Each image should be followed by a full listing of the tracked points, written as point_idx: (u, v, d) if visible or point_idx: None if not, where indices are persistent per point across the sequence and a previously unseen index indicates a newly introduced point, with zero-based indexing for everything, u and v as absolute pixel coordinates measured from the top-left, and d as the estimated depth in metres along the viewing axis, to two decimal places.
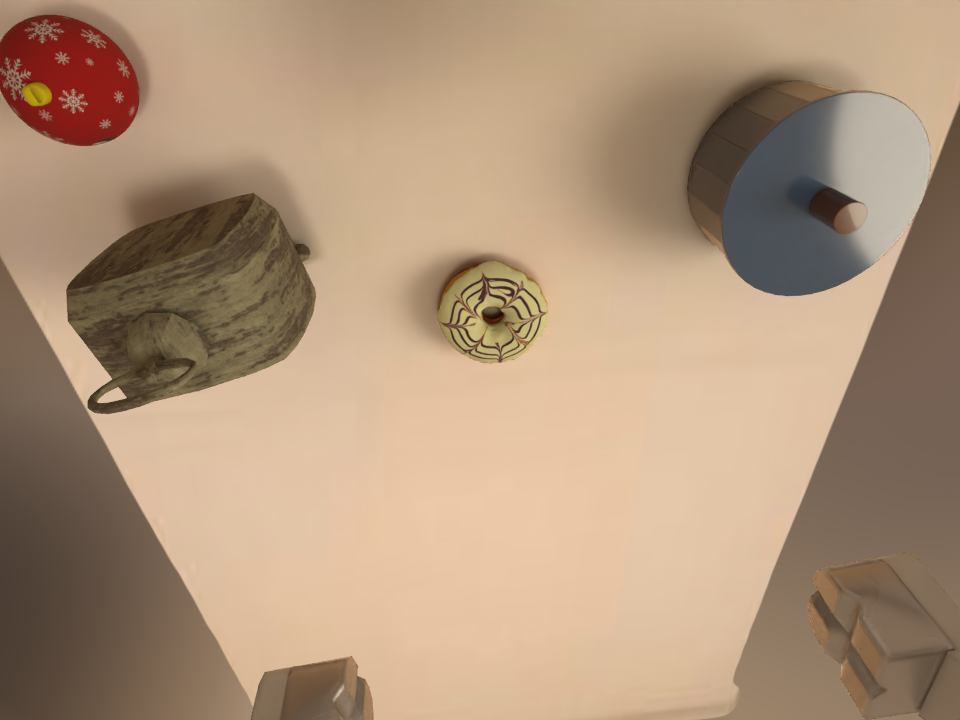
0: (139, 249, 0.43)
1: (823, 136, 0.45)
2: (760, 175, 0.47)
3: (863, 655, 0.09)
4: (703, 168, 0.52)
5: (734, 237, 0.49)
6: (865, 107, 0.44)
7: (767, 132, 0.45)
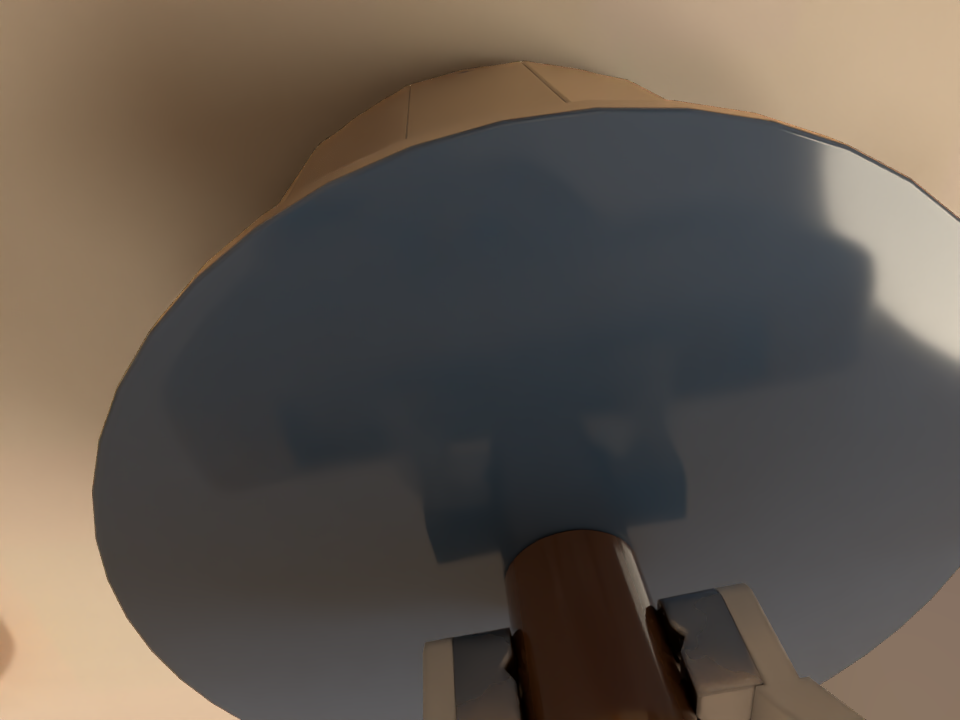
0: None
1: (471, 347, 0.08)
2: (213, 504, 0.10)
3: (686, 687, 0.09)
4: None
5: (232, 679, 0.12)
6: (677, 200, 0.08)
7: None
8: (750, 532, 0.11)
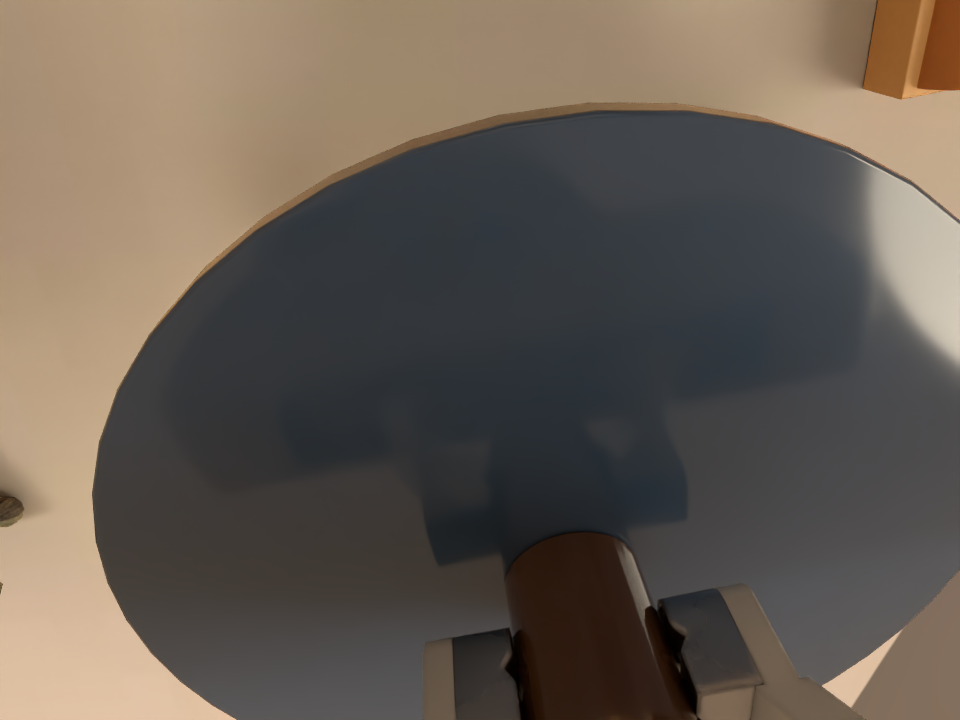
0: None
1: (472, 350, 0.08)
2: (214, 507, 0.10)
3: (686, 687, 0.09)
4: None
5: (232, 681, 0.12)
6: (678, 203, 0.08)
7: (151, 334, 0.08)
8: (751, 534, 0.11)
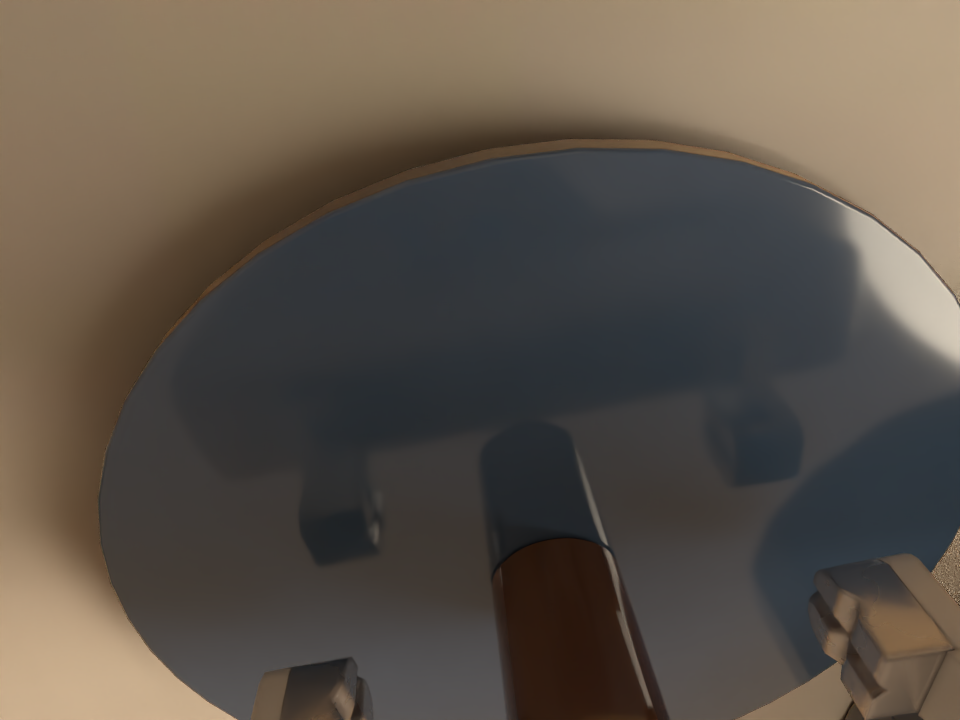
0: None
1: (461, 366, 0.09)
2: (214, 510, 0.10)
3: (863, 655, 0.09)
4: None
5: (228, 678, 0.13)
6: (654, 232, 0.08)
7: (157, 347, 0.09)
8: (726, 541, 0.12)
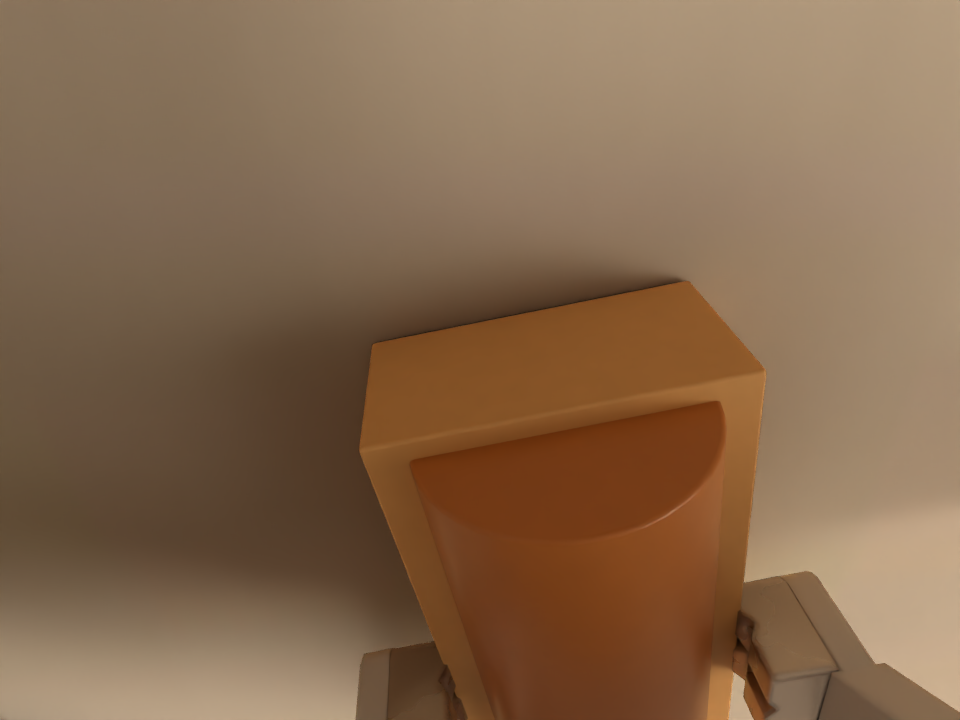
0: None
1: None
2: None
3: (756, 674, 0.09)
4: None
5: None
6: None
7: None
8: None
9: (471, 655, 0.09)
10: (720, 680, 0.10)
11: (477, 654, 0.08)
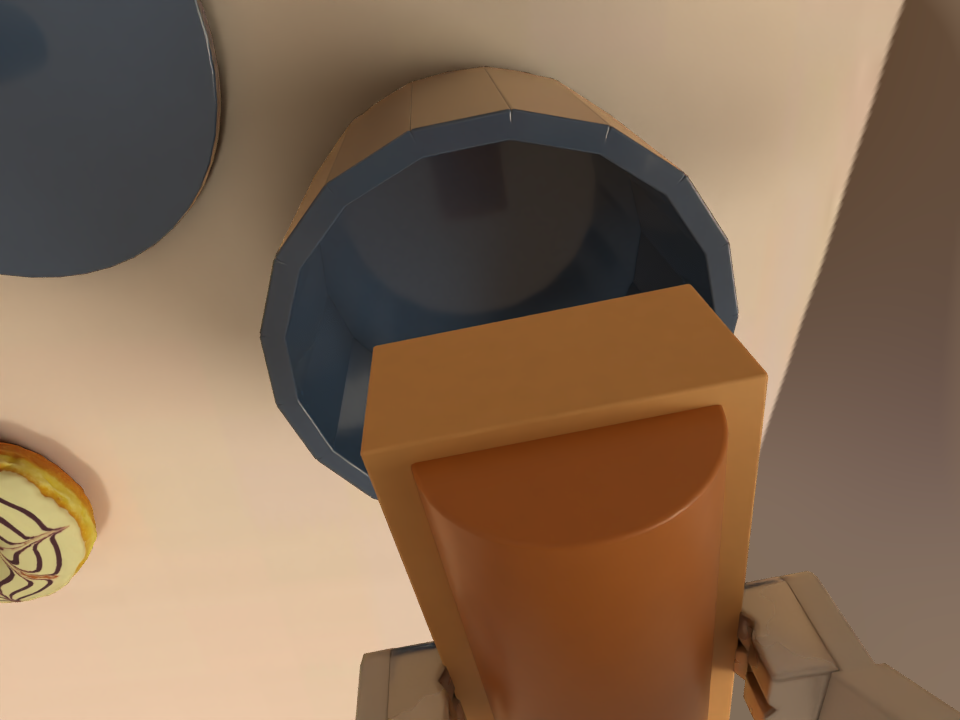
0: None
1: None
2: None
3: (756, 675, 0.09)
4: None
5: None
6: None
7: None
8: (48, 22, 0.20)
9: (472, 658, 0.09)
10: (721, 683, 0.10)
11: (478, 657, 0.08)
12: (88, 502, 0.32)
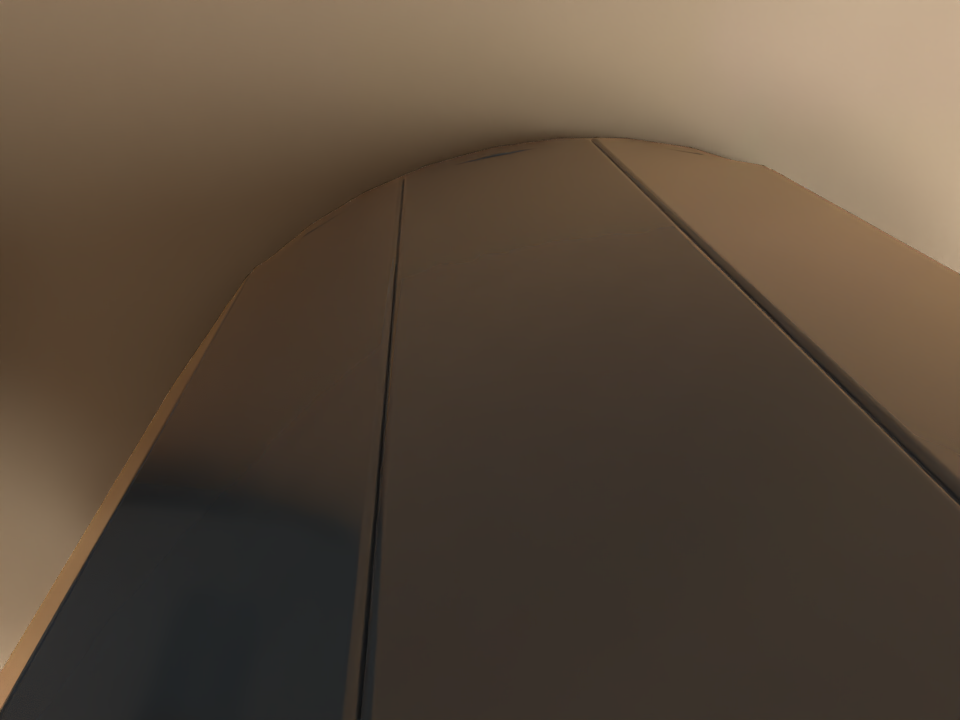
0: None
1: None
2: None
3: None
4: None
5: None
6: None
7: None
8: None
9: None
10: None
11: None
12: None
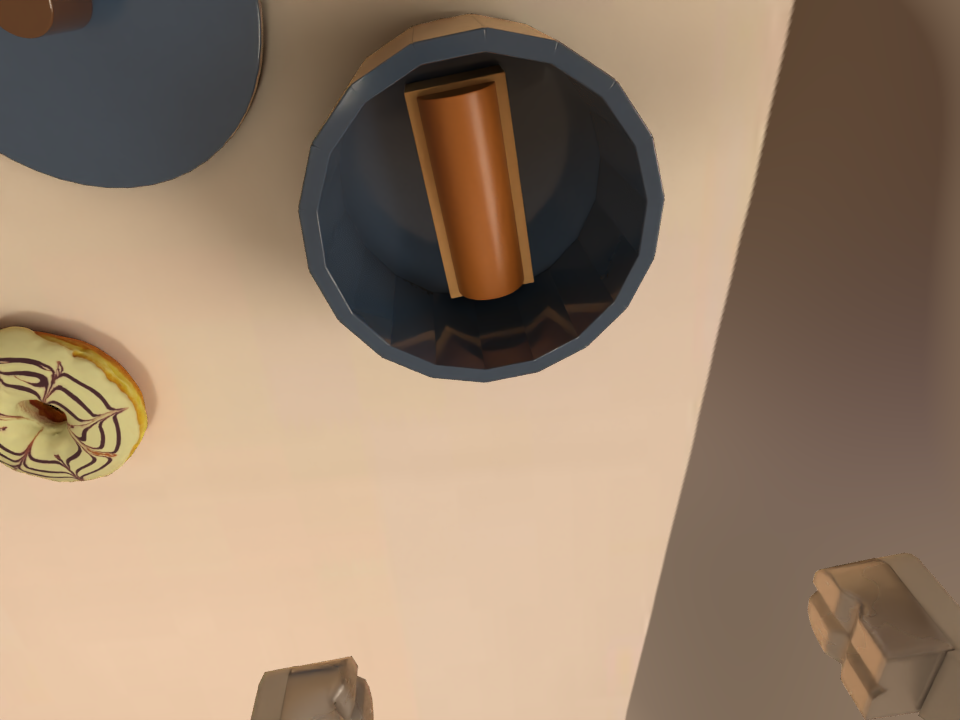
0: None
1: None
2: None
3: (863, 655, 0.09)
4: None
5: None
6: None
7: None
8: None
9: (435, 186, 0.30)
10: (519, 210, 0.31)
11: (435, 169, 0.29)
12: (141, 394, 0.38)
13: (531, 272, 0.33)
